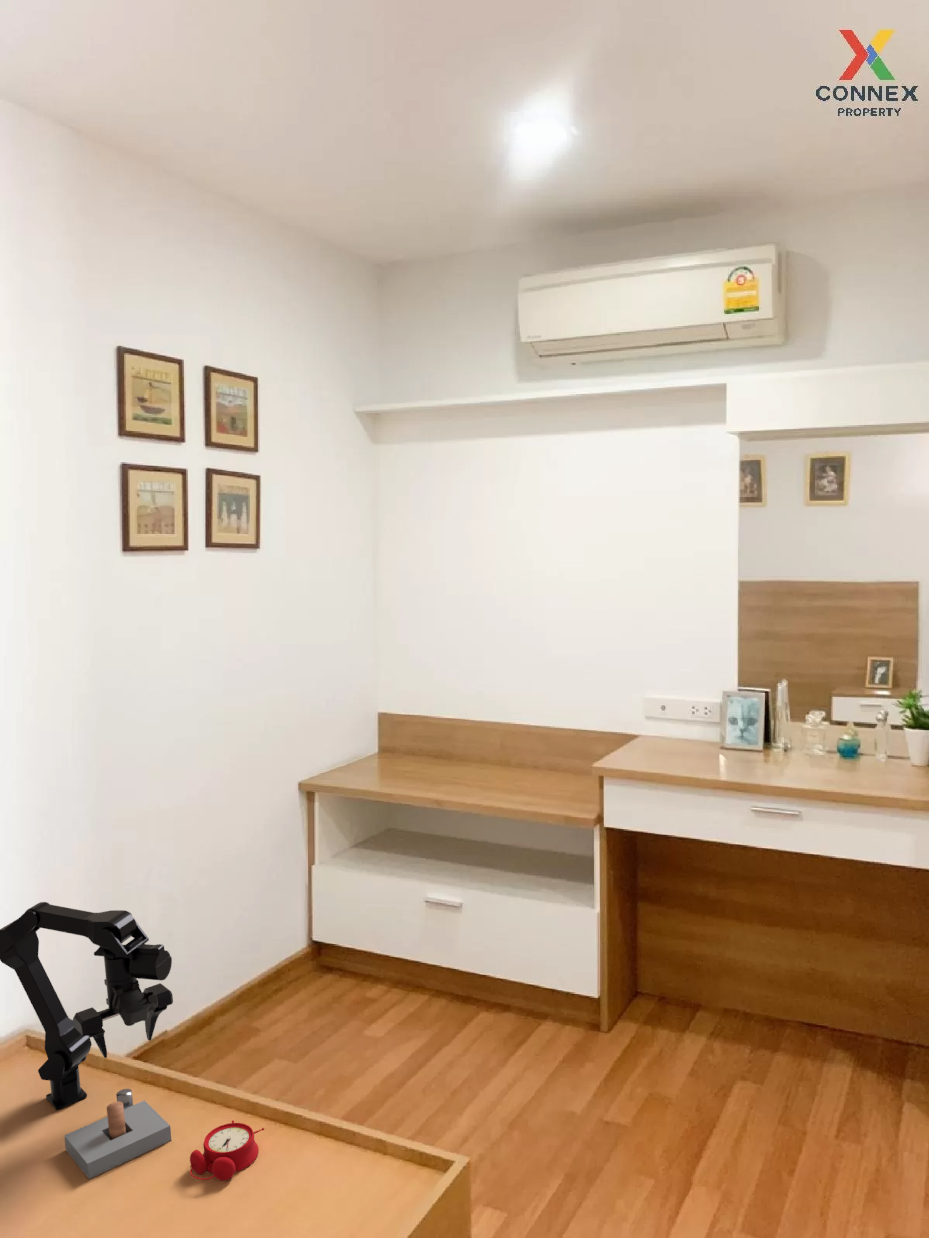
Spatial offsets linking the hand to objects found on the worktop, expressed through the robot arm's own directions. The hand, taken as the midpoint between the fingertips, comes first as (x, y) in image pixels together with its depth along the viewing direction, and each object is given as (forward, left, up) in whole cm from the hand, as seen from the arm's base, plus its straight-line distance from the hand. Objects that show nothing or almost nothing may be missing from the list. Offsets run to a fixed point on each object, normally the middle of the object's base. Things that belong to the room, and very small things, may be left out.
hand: (127, 1048), depth 205 cm
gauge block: (+11, -7, -13) cm, 18 cm away
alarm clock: (+30, +5, -13) cm, 33 cm away
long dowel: (+11, -7, -13) cm, 18 cm away
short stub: (+1, -2, -13) cm, 13 cm away
